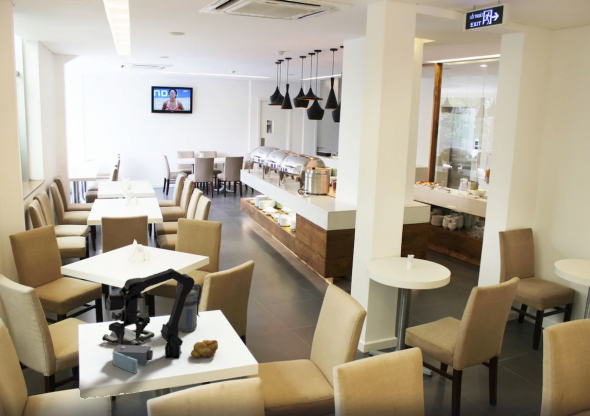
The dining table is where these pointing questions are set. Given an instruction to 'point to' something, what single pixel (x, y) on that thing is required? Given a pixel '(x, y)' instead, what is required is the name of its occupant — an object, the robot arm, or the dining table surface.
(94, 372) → the dining table surface
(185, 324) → the beverage bottle
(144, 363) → the grey block with knob
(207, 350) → the bread roll
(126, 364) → the side door
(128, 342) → the camcorder
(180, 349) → the robot arm
